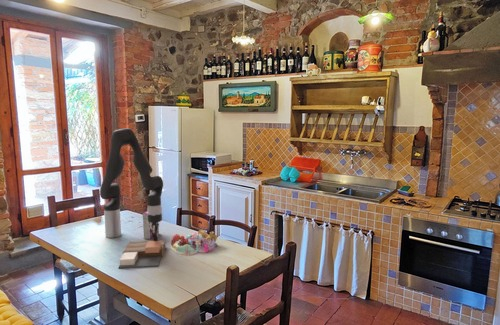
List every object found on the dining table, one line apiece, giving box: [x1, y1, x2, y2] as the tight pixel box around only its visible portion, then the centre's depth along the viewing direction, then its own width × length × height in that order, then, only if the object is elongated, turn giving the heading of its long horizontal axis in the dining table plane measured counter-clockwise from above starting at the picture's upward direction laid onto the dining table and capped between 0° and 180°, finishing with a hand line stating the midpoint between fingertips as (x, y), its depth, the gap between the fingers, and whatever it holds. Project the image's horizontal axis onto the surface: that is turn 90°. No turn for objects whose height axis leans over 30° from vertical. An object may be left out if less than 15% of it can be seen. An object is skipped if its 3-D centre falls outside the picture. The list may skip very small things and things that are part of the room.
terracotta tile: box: [145, 240, 161, 253], centre depth 180 cm, size 9×7×3 cm
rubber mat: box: [118, 256, 162, 270], centre depth 173 cm, size 11×19×1 cm, turn 97°
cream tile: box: [119, 252, 138, 265], centre depth 172 cm, size 9×7×3 cm
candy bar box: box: [142, 211, 160, 240], centre depth 210 cm, size 11×5×16 cm, turn 168°
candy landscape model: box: [170, 229, 218, 256], centre depth 194 cm, size 25×24×9 cm
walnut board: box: [122, 239, 166, 259], centre depth 185 cm, size 15×20×4 cm
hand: (155, 242), depth 186 cm, fingers closed
